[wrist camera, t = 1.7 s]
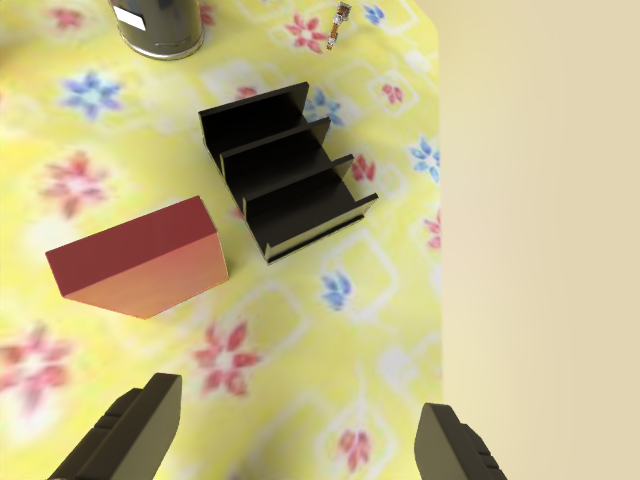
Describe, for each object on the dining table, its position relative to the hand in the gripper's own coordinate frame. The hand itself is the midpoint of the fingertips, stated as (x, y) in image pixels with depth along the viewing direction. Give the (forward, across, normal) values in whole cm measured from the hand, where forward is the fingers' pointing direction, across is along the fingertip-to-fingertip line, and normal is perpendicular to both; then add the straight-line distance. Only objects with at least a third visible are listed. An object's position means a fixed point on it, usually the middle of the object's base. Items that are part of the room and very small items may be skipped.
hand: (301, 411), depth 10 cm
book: (+20, +11, +5) cm, 23 cm away
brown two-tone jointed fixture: (+41, 0, -27) cm, 49 cm away
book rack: (+28, +4, -6) cm, 28 cm away
